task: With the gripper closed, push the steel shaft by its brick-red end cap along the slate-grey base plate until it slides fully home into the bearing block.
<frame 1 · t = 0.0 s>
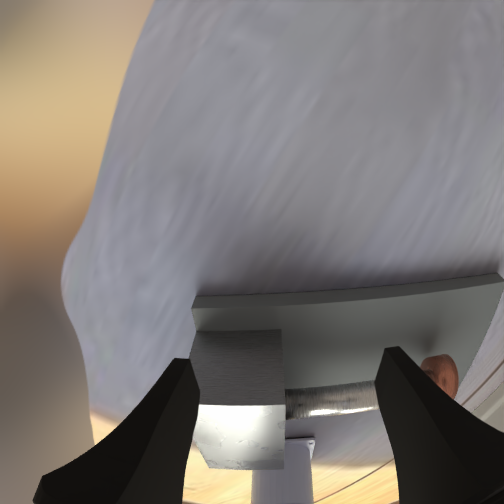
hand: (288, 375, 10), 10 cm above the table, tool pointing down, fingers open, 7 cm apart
shaft: (366, 396, 19), point 4 cm above the table, slide at 8.0 cm
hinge: (491, 401, 29), on the table
bearing block: (245, 363, 24), resting on base plate
base plate: (361, 355, 23), on the table
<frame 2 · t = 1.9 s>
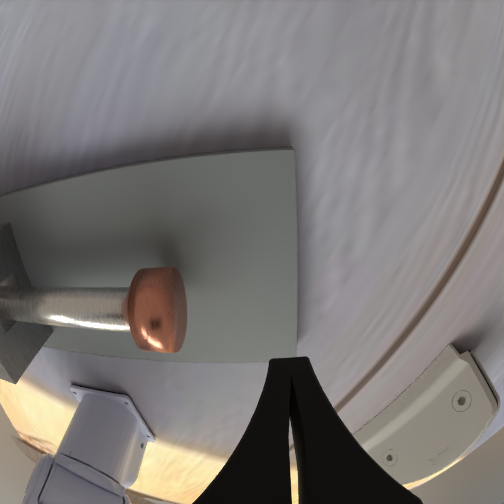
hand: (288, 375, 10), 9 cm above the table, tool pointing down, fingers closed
shaft: (66, 307, 15), point 4 cm above the table, slide at 8.0 cm
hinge: (417, 400, 25), on the table
bearing block: (19, 273, 20), resting on base plate
base plate: (105, 271, 19), on the table
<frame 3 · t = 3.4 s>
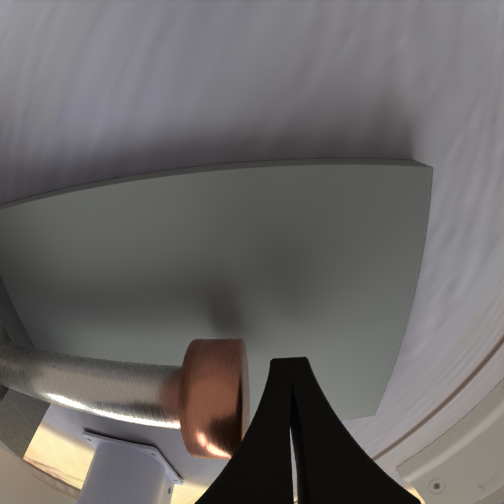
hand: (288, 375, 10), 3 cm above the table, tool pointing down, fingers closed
shaft: (71, 382, 10), point 5 cm above the table, slide at 7.4 cm, touching gripper
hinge: (466, 426, 20), on the table
bearing block: (11, 311, 14), resting on base plate
base plate: (129, 320, 14), on the table
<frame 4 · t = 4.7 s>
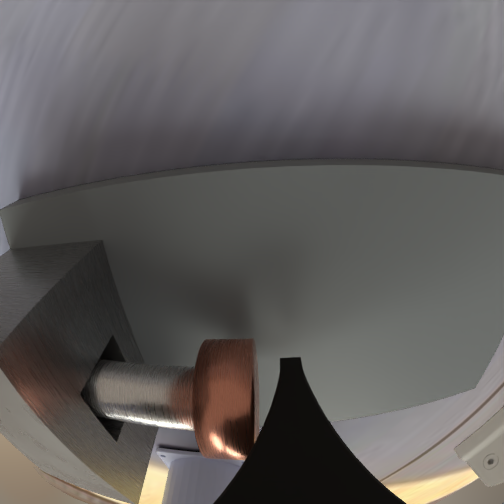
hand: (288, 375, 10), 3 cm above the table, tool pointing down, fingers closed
shaft: (78, 383, 10), point 5 cm above the table, slide at -0.1 cm, touching gripper
bearing block: (97, 319, 14), resting on base plate
base plate: (291, 318, 13), on the table
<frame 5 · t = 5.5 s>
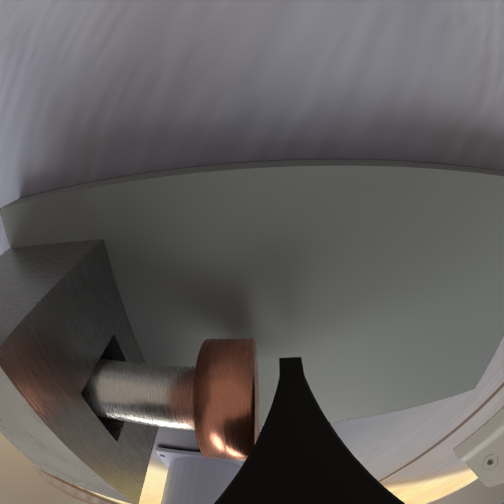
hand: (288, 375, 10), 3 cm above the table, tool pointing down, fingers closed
shaft: (78, 383, 10), point 5 cm above the table, slide at -0.1 cm, touching gripper
bearing block: (97, 318, 14), resting on base plate
base plate: (292, 318, 13), on the table
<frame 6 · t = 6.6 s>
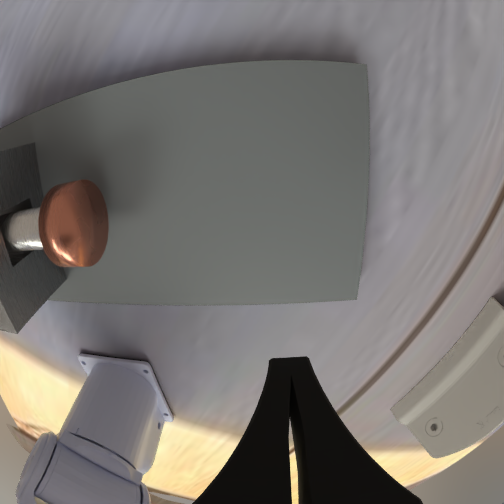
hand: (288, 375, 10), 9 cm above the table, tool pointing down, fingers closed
shaft: (5, 233, 14), point 4 cm above the table, slide at 0.0 cm
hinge: (458, 364, 24), on the table
bearing block: (33, 211, 18), resting on base plate
base plate: (143, 195, 17), on the table
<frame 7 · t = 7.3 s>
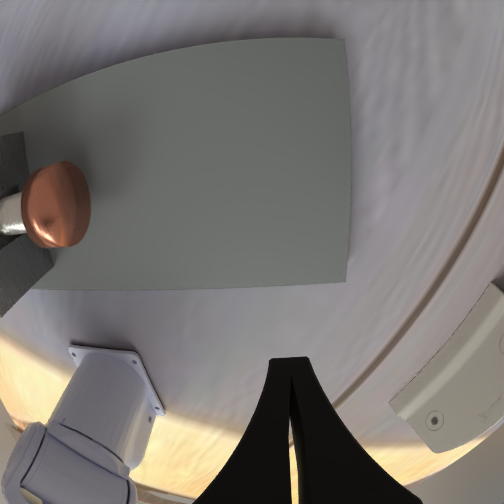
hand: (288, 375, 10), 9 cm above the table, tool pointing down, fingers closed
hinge: (458, 354, 23), on the table
bearing block: (23, 200, 17), resting on base plate
base plate: (126, 179, 17), on the table
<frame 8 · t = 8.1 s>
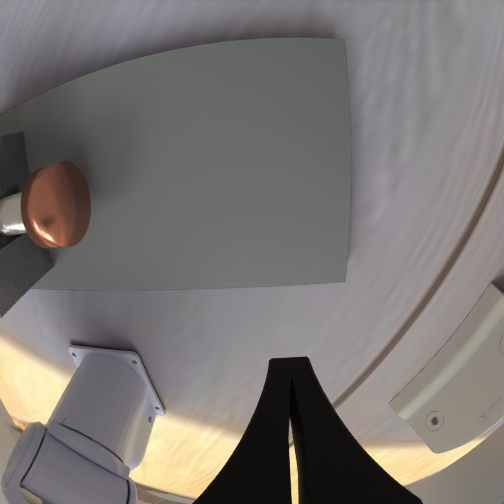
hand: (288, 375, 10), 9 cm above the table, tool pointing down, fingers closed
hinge: (458, 355, 23), on the table
bearing block: (23, 200, 17), resting on base plate
base plate: (126, 179, 17), on the table
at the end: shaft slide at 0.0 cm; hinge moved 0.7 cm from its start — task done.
